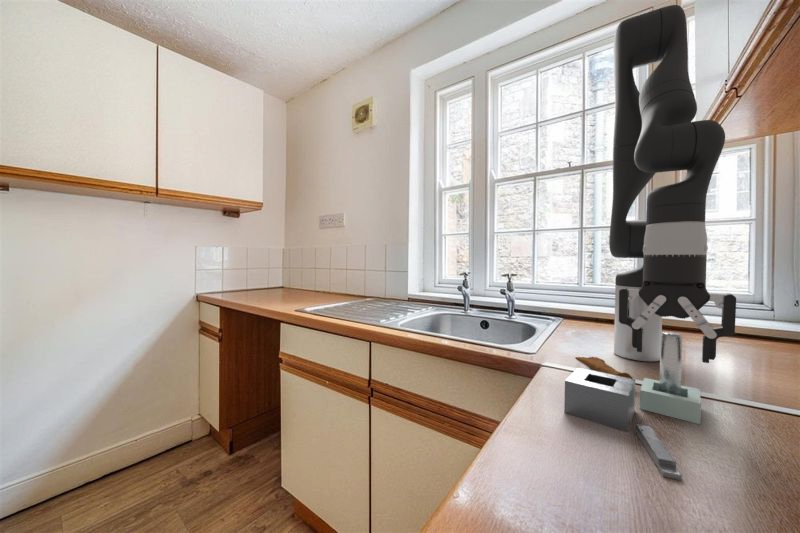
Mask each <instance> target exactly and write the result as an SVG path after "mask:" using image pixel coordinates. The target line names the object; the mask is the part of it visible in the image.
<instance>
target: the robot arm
mask: <svg viewBox="0 0 800 533" xmlns="http://www.w3.org/2000/svg"><path fill="white" fill-rule="evenodd" d="M686 17H687V16H686V13H685V11H684V9H683V7H682V6H680V5H679V4H671V5H666V6H663V7H660V8H657V9H654V10H651V11H647V12H644V13H641V14H638V15H636V16H631V17H629V18H626V19H624V20H622V21H621V22H620V23H619V24H617V27H616V29H615V33H614V36H613V37H614V39H613V76H614V124H613V125H614V127H613V142H612V205H611V216H610V226H609V240H608V243H609V251H610V255H611V256H612V257H614V258H617V259H618V258H619V259H621V258H622V259H643V264H642V265H640V266H638V267H637V268H634V269H630V270H627V271H623V272H620V273H617V274H616V276H615V280H614V281H615V291H614V293H615V294H614V295H615V296H614V332H613V333H614V335H613V336H614V338H613V353H614V354H615V355H616V356H619V357H622V358H625V359H628V360H634V361H640V362H660V344H661V332H663V331H662V330H663V318H664V317H665V318H666V317H673V318H677V319H684V320H686V319H687V318H691V320H692V321H693V323H695V325H696V326H697V327H698V328H699V329H700V330H701V332H702V333H703V334H704V335H702V350H701V352H702V353H701V356H702V357H701V361H702V363H706V364H710V360H711V361H715V359H716V358H717V357H716V356H717V341H718V339H719V338H724V337H733V336H734V335H735V334H736V314H737V297H736V296H735V295H734V294H732V293H728V292H727V293H724V294H723V293H721V294H719V293H710V292H708V290H707V284H706V283H707V256H708V255H707V254H708V253H707V252H708V248H709V246H708V235H707V234H708V233H707V228H706V210H707V209H706V208H707V205H706V204H707V193H708V190H709V186H710V184H711V183H710V182H711V179H712V177H713V173H714V171H715V168H716V165H717V164H718V161H719V159H720V157H721V154H722V152H723V148H724V146H725V142H726V133H725V130H724V128H723V126H722V125H721V123H719V122H718V121H715V120H713V119H703V120H696V121H693V120H694V118H695V117H696V115H697V113H698V112H697V111H698V104H697V100H696V98H695V93H694V90H693V86H692V83H691V81H690V76H689V45H688V44H689V42H688V26H687V25H688V23H687V18H686ZM657 63H659V64H658V65H657V66H656V67H655V69H653V71H652V72H651V74H650V75H649V76H648V77H647V79H646V80H645V82H643V83H644V84H643V86H642V88H641V89H640V91H639V89H638V86H637V85H636V84H637V83H636V81H635V78H634V72H633V70H634V69H636V68H640V67H645V66H648V65H651V64H657ZM677 171H686V175H685V177H684V178H683V179H682V180H681V181H679V182H675V183H672V184H667V185H664V186H660V187H656V188H654V189H652V190H650V192H648V193H647V194H648V195H647V198H646V215H645V216H646V219H636V220H635V219H634V220H631V219H630V220H627V218H628V213H629V211H630V209H631V207H632V205H633V204H634V202H635V200H636V199H637V197H638V196H639V194H640V193H641V192H642V191H643V189H644V188H645V187H646V185H648V183H649V182H650V181H651V180H652V179H653V178H654V177H655V176H654V175H656V174H657V173H664V172H665V173H666V172H677ZM709 301H712V302H713V303H714V304H715V305H714V306H715V307H716V308H718V309H719V310H721V326H716V327H713V326H712V325H711V324H710V322H709V321H708V320H707V319H706V318H705V315H703V313H701V311H700V310H701V309H702V307H704V306H705V305H706V304H708V302H709Z"/></svg>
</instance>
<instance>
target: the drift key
mask: <svg viewBox="0 0 800 533" xmlns="http://www.w3.org/2000/svg"><path fill="white" fill-rule="evenodd" d="M635 433H636V435H637V437H638V439H639V440H640V442H641V443H642V445H643V446H644V448H645V450H646V451H647V453H648V454H649V456H650V458H651V460H652V461H653V463H654V464H655V466H656V468H657V469H658V472H660V474H661V476H662V477H664V478H668V479H673V480H677V481H682V478H683V477H682V476H683V475H682V473H681V472H680V471H679V469H678V467H677V461H676V460H675V458H674V457H673V455H672V454H671V452H669V450H668V448H667V447H666V445H664V443H663V442H662V440H661V439H660V438H659V436H658V435H657V434H656V432H655V430H654V429H653V428H652V427H651V426H649V425H644V424H639V423H638V424H636V425H635Z"/></svg>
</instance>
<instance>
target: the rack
mask: <svg viewBox="0 0 800 533" xmlns="http://www.w3.org/2000/svg"><path fill="white" fill-rule="evenodd" d="M659 385H660V380H658V379H652V378H647V377H643V381H642V383H641V387H640V390H639V410H643V411H647V412H650V413H654V414H659V415H662V416H666V417H670V418H674V419H678V420H681V421H686V422H688V423H689V422H690V423H693V424H697V425H701V414H702V401H701V400H702V399H701V393H700V392H701V391H700V388H695V387H692V386H687V385H682V384H681V396H677V395H673V394H668V393H664V392H659Z"/></svg>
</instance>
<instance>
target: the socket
mask: <svg viewBox="0 0 800 533" xmlns="http://www.w3.org/2000/svg"><path fill="white" fill-rule="evenodd" d="M635 398H636V379H634V378H633V379H631V378H626V377H621V376H617V375H612V374H607V373H602V372H598V371H594V370H593V369H588V368H587V369H586V368H583V367H577V368H575V370H574V371H573V372H572V373H571V374H570V375H569V376H568V377H567V378H566V379H564V405H563V406H564V407H563V408H564V410H563V411H564V412H563V413H564V414H568V415H571V416H575V417H578V418H581V419H585V420H588V421H590V422H591V421H592V422H594V423H597V424H601V425H604V426H608V427H611V428H614V429H618V430H620V431H624V432H629V428H630V425H631V423H632V420H633V417H634V414H635V411H636V410H635V408H636V406H635V404H636V399H635Z"/></svg>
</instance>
